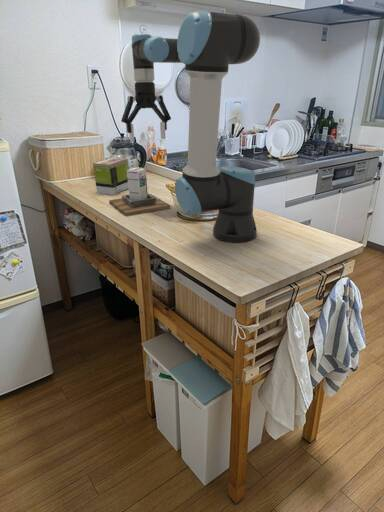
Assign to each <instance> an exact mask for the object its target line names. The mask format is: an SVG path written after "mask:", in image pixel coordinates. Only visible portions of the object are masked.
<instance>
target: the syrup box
mask: <svg viewBox="0 0 384 512" xmlns="http://www.w3.org/2000/svg"><path fill="white" fill-rule="evenodd" d="M127 176H128V187H129V188H128V195H129V198H130V200H132V201H137V200H143V199H148V194H149V193H148V183H147V182H148V180H147V170H146V168H144V167H133V168H129V170H127Z"/></svg>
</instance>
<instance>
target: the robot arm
mask: <svg viewBox="0 0 384 512" xmlns="http://www.w3.org/2000/svg"><path fill="white" fill-rule="evenodd" d="M260 43H261V35H260V30H259V28H258V26H257V24H256V23H255V22H254V21H253V20H252V19H251V18H250V17H248V16H245V15H244V14H239V13H238V14H234V13H233V14H232V13H223V12H213V11H206V10H205V11H192V12H191V13H189V14H187V15H186V16H185V18H184V19H183V21H182V23H181V25H180V27H179V30H178V34H177V38H169V37H167V38H164V37H162V36H154V35H153V36H152V34H149V33H135V34H132V36H131V49H132V64H133V65H132V66H133V77H134V81H135V82H134V92H135V95H134V96H132V95H128V96H127V102H126V107H125V109H124V112H123V115H122V117H121V123H124V124H125V125H126V132H127V133H128V134H129V142H131V143H135V130H134V124H133V123H132V122H133V121H134V119H136V117H137V115H138V114H139V112H140V110H141V109H152V110H153V112H154V114H156V115H157V116H158V118H159V119H160V122H159V127H160V129H159V130H160V139H161V140H166V131H167V129H168V128H167V127H168V126H167V125H168V124H167V123H168V122H169V121H171V119H172V117H171V114H170V112H169V111H168V109H167V106H166V104H165V102H164V98H163V97H164V96H163V95H161V94H160V95H159V94H158V95H156V94H155V93H156V86H155V85H156V84H155V83H154V81H155V68H154V67H155V66H154V65H155V64H156V63H160V64H161V63H163V64H165V63H169V64H170V63H173V64H174V63H175V64H176V63H177V64H178V63H181V64H184V69H185V70H184V72H186V74H187V75H188V77H189V78H190V79H189V81H190V83H189V85H190V86H189V87H190V88H189V112H188V113H189V114H188V138H187V139H188V140H187V141H188V142H187V143H188V144H187V165H185V166H184V167H183V168H182V176H179V177H178V178H176V180H175V182H174V192H175V196H176V201H177V202H178V205H179V207H180V209H182V211H183V212H184V213H186V214H189V215H193V214H195V215H196V214H201V213H207V212H212V211H218V214H217V216H216V219H215V222H214V226H213V228H212V235H213V237H215V238H216V239H217V240H220V241H222V242H227V243H246V242H249V241H252V240H254V239H256V237H257V225H256V221H255V218H254V214H253V212H254V199H255V198H254V197H255V186H256V175H255V173H254V171H253V170H250V169H248V168H245V167H239V166H229V165H226V166H224V165H223V166H220V167H219V168H218V166H217V154H218V142H219V141H218V140H219V139H218V138H219V127H220V126H219V125H220V112H221V111H220V110H221V96H222V83H223V79H224V78H225V76H226V75H227V74H228V73H229V66H230V65H239V64H244V63H246V62H248V61H250V60H251V59H253V58H254V56H255V55H256V54H257V52H258V49H259V48H260ZM154 63H155V64H154ZM155 102H158V105H159V107H158V105H157V104H156V103H155ZM134 103H136V104H135V106H134V108H133V104H134ZM132 108H133V109H132ZM131 110H132V111H131ZM130 112H131V113H130Z"/></svg>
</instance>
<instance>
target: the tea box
mask: <svg viewBox="0 0 384 512" xmlns="http://www.w3.org/2000/svg"><path fill="white" fill-rule="evenodd" d="M92 165H93V173H94V180H95V188H96V192H97V194H101V195H102V194H103V195H107V196H108V195H111V196H114V195H116V194H118V193H121V192H123V191H125V190H129V187H128V176H127V170H130V168H129V159H128V158H122V157H121V158H120V157H109V158H106V159H102V160H100V161H96V162H92Z"/></svg>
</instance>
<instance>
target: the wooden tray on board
mask: <svg viewBox="0 0 384 512" xmlns="http://www.w3.org/2000/svg"><path fill="white" fill-rule="evenodd" d="M108 202H109V205H111V206H112V207H113V208H114V209H115V210H116V211H118V212H119V213H121V214H122V215H123V216H125V217H130V216H134V215H135V216H136V215H141V214H145V213H146V214H147V213H151V212H152V213H153V212H157V211H165V210H170V209H171V204H169V203H168V202H166V201H164V200H162V199H160V198H159V197H157V196H155V195H153V194H152V193H148V199H143V200H137V201H132V200H130V198H129V194H125V195H121V198H115V199H109V200H108Z"/></svg>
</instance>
